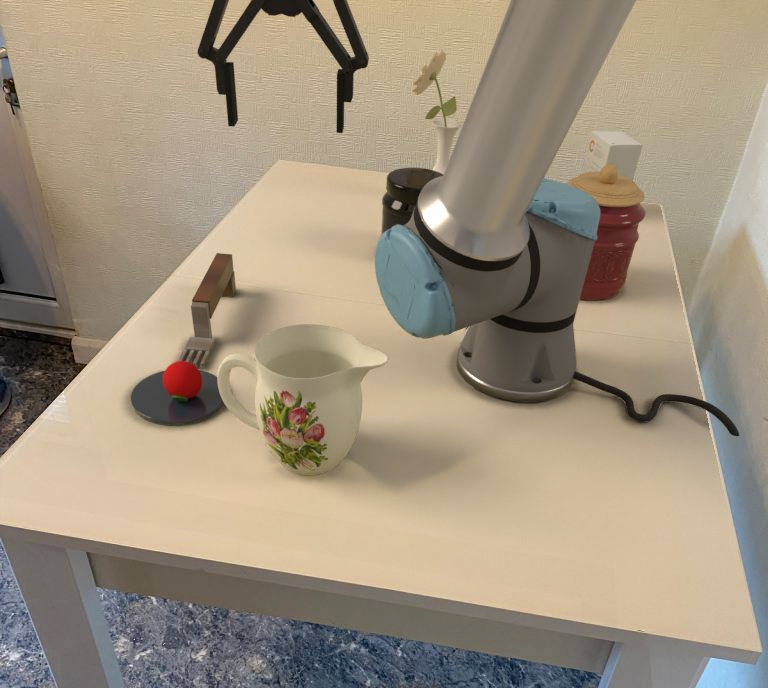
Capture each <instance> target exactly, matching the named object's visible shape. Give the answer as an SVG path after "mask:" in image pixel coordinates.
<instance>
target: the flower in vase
mask: <svg viewBox="0 0 768 688" xmlns="http://www.w3.org/2000/svg"><path fill="white" fill-rule="evenodd" d="M446 59H447V53H446V52H445V51H444V50H443V49H441V50H440V51H439V53H438V52H437V51H435V52H434V54H433V56H432V57H431V59H430V60H429V64H428V65H427V64H426V65H424V66H423V67H422V68H421V73H422V74H420V75H419V76H418V77H417V79H416V80H415V81H414V82H413V86H415V87H414V88H413V90H412V93H414V94H416V95H421V94H423V92H425V91H426V90H427V89H428V88H429V87H431V85H432V84H433V83H434V82H435V84H436V89H437V92H438V97H439V101H440V105H435V106H433V107H432V108H430V110H429V111H428V112H427V114H426V115H425V118H424V119H425V120H432V121H431V124H432V126H433V127H434V130H435V131H436V132H435V133H436V140H437V151H436V152H437V153H436V154H437V155H436V160H435V163H434V165H433V168H431V170H434V171H437V172H439V173H442V174H443V175H444V173H445V170H446V168H447V165H448V163H449V160H450V157H451V150H452V149H451V148H452V144H453V141H454V137H455V135H456V133H457V132H458V130H459V129H460V128H461V126H462V123H461V122H460V121H458V120H455V119H450V118H447V117H449V116H452V115H453V114H455V113H457V109H458V108H457V100H456V99H457V98H456V96H455V95H453V97H451V98H450V99H448V100H447V101H446V102H444V103H443V97H442V93H441V88H440V84H439V80H438V78H437V77H438V75H439V74H440V72H441V71H442V69H443V67H444V65H445V61H446ZM440 111H441V113H442V118H438V119H435V118H436V117H437V115H439V113H440ZM433 119H434V120H433Z"/></svg>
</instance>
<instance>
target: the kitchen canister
mask: <svg viewBox="0 0 768 688" xmlns="http://www.w3.org/2000/svg"><path fill="white" fill-rule="evenodd" d="M618 174H619V172H618V168H617V167H616V166H615V165H613V164H607V165H605V166H603V168H602V169H601V171H600V172H586V173H582V172H581V173H580V174H579V175H577V176H575V177H573V178H571V179H569V180H568V181H566V182H565V184H567V185H570V186H573V187H575V188H578V189H580V190H582V191H584V192H586V193H588V194H589V195H591V196H592V197H593V198H594V199H595V200H596V201H597V203H598V205H599V208H600V219H599V224H598V229H597V236H598V237H597V240H595V243H594V246H593V250H592V254H591V258H590V262H589V265H588V269H587V273H586V277H585V281H584V284H583V288H582V292H581V296H580V300H586V301H587V300H588V301H598V300H599V301H602V300H607V299H611V298H613V297H616V296H617V295H619V294H620V293H621V291H622V289H623V287H624V285H625V284H626V281H627V278H628V270H629V267H630V265H631V261H632V256H633V253H634V250H635V247H636V243H637V242H638V240H639V239H640V233H639V231H638V229H639V225H640V223H641V222H642V221H644V219H645V218H646V210H645V207H643V205H642V204H641V203H642V202H643V201H644V200H645V193H644V191H643V190H642V189H641V188H640V187H639V186H638V185H637V183H636V182H635V181H634V180H633V181H632V180H631V179H629V178H627V177H624V176H621V175H618Z"/></svg>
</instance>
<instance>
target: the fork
mask: <svg viewBox="0 0 768 688" xmlns="http://www.w3.org/2000/svg"><path fill="white" fill-rule="evenodd" d="M233 259H234V258H233V254H232V253H220V252H217V253H216V254H215V255H214V257H213V260H212V261H211V262H210V265H209V267H208V269H207V271H206V272H205V274H204V276H203V278H202V280H201V282H200V284H199V286H198V288H197V289H196V292H195V293H194V295H193V297H192V299H191V302H192V303H191V305H190V312H191V318H192V320H191V321H192V327H193V333H194V335H193V336H189V337H188V339H187V341H186V344H185V346H184V347H183V351H182V353H181V355H180V356H179V358H178V361H186V362H189V363H191V364H193V365H194V366H196V367H197V368H198V367H199V366H200V369H205V368H206V366H207V363H208V361H209V359H210V357H211V355H212V352H213V350H214V348H215V345H216V341H215V338H213V332H212V324H211V323H212V322H211V319H212V317H213V316H214V313H215V312H216V309H217V307H218V306H219V303H220V301H221V300H222V299H221V298H222V297H227V298H228V297H229V298H234V296H235V294H236V292H237V287H236V277H235V275H236V273H235V270H234V260H233ZM199 364H200V365H199Z"/></svg>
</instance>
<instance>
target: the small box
mask: <svg viewBox="0 0 768 688" xmlns="http://www.w3.org/2000/svg"><path fill="white" fill-rule="evenodd" d="M642 148H643V143H642V144H641V143H640V142H639V141H638V140H636V139H635V138H633V137H631V136H630V135H628V134H626V133H625V132H624V131H623V130H592V131H591V132H590V137H589V141H588V145H587V149H586V154H585V158H584V161H583V167H582V170H581V174H582V173H586V172H600V171H601V169H602V168H603V166H605V165H607V164H613V165H615V166H616V167H617V168H618V172H619V174H618V175H621V176H624V177H627V178H629V179H631V180H632V181H634V178H635V173H636V171H637V166H638V163H639V158H640V155H641V152H642Z"/></svg>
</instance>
